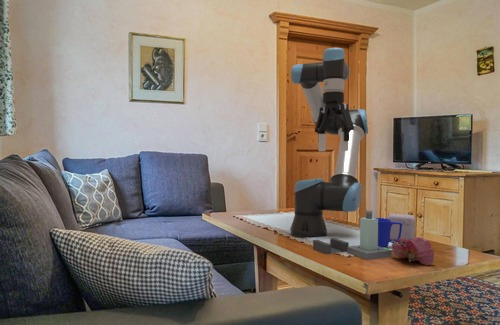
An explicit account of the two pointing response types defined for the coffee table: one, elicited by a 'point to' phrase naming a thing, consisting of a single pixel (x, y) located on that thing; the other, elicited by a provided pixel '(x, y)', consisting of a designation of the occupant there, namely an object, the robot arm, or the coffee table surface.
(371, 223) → the plug
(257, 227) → the coffee table surface
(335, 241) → the holster
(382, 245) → the mug
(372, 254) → the port
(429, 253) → the flower
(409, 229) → the electronic device
